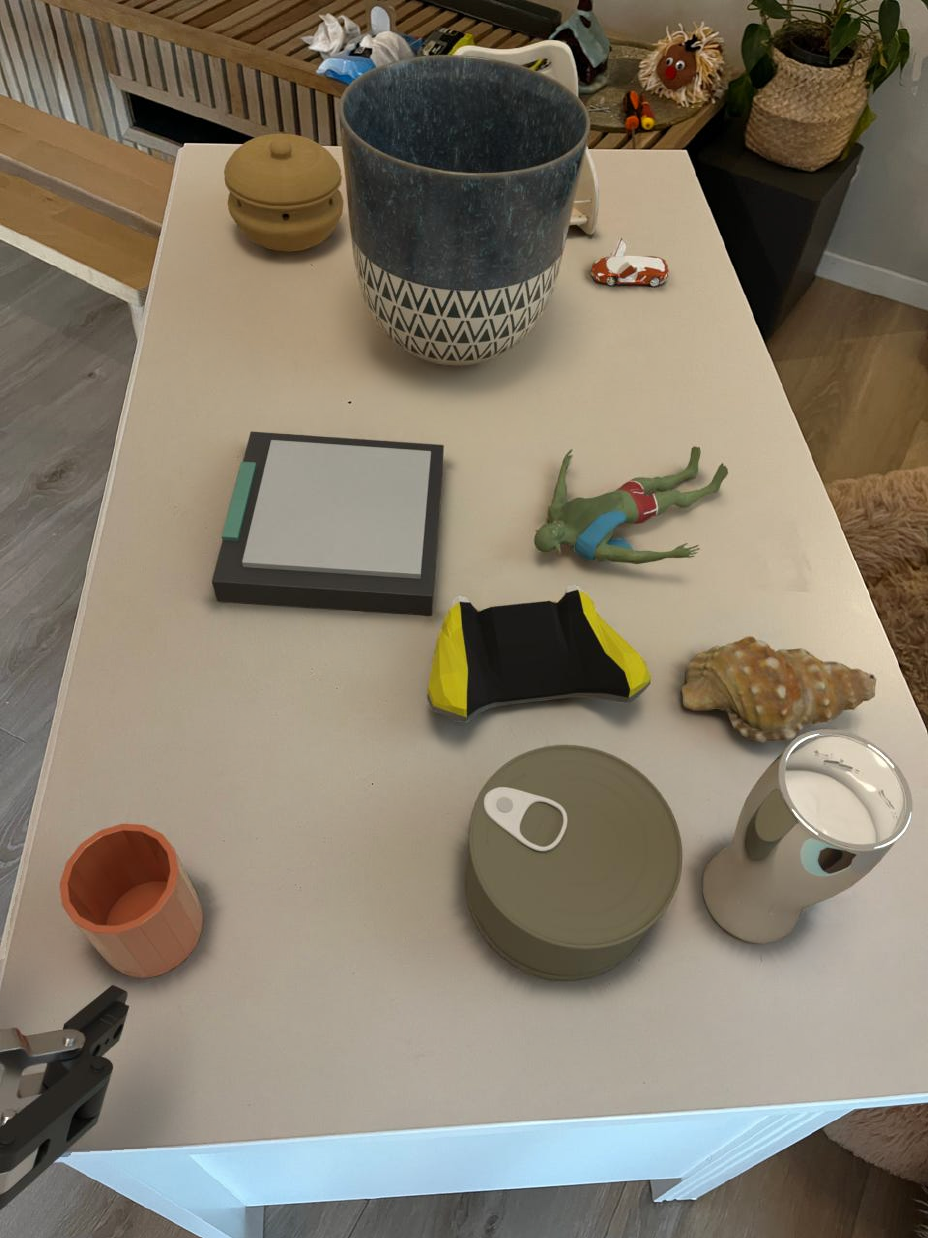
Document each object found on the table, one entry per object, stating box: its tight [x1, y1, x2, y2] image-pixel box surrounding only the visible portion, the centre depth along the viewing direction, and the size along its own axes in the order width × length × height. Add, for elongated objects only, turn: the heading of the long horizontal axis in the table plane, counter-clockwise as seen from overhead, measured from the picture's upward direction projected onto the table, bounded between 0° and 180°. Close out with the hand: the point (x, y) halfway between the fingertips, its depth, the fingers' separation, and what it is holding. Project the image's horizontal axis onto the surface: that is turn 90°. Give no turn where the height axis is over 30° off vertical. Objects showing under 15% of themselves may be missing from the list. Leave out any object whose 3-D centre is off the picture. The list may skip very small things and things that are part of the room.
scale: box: [211, 431, 445, 616], centre depth 72 cm, size 16×16×3 cm
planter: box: [338, 54, 591, 367], centre depth 79 cm, size 20×20×21 cm
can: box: [464, 744, 683, 981], centre depth 54 cm, size 12×12×7 cm
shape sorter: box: [452, 39, 600, 235], centre depth 94 cm, size 20×10×18 cm, turn 104°
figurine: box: [533, 445, 729, 565], centre depth 74 cm, size 16×4×18 cm
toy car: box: [590, 237, 669, 288], centre depth 95 cm, size 5×8×3 cm, turn 92°
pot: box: [223, 133, 344, 252], centre depth 93 cm, size 12×12×10 cm
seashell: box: [680, 635, 877, 743], centre depth 63 cm, size 9×8×10 cm
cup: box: [59, 823, 204, 979], centre depth 50 cm, size 6×6×8 cm
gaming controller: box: [426, 583, 652, 723], centre depth 63 cm, size 15×6×10 cm
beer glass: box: [701, 728, 914, 945], centre depth 51 cm, size 7×7×15 cm
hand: (38, 966), depth 42 cm, fingers open, 8 cm apart
